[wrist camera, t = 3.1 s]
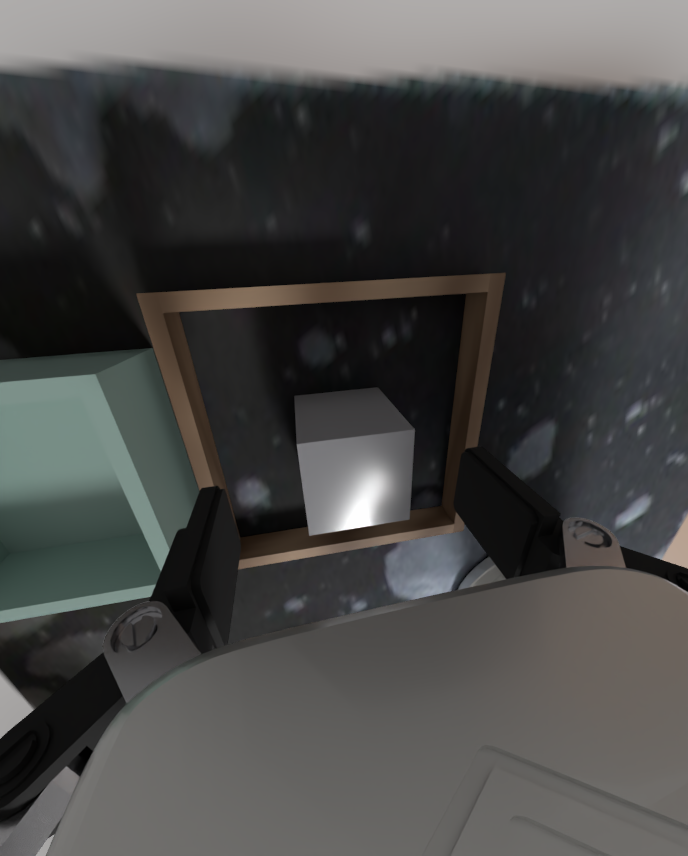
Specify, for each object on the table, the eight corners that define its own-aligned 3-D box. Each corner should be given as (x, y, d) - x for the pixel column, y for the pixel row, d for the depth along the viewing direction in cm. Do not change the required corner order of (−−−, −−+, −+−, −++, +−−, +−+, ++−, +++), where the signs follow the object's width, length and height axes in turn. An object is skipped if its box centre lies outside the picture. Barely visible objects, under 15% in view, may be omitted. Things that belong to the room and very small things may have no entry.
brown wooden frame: (481, 274, 16) (505, 272, 14) (450, 512, 23) (463, 530, 22) (155, 292, 14) (135, 293, 12) (231, 547, 21) (225, 571, 20)
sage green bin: (152, 348, 15) (95, 374, 11) (209, 522, 20) (186, 590, 16) (-119, 369, 14) (-316, 409, 9) (15, 551, 19) (-70, 635, 14)
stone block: (377, 387, 18) (414, 429, 13) (377, 457, 20) (409, 519, 15) (294, 395, 17) (296, 444, 12) (303, 467, 20) (309, 535, 14)
